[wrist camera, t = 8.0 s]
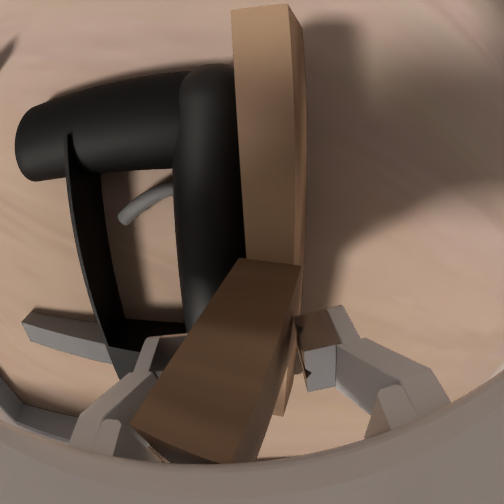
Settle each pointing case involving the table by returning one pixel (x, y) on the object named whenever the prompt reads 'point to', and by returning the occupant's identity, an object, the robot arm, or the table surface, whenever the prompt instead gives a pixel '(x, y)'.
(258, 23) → the walnut scraper
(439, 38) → the table surface
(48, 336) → the black angular piece
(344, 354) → the robot arm
